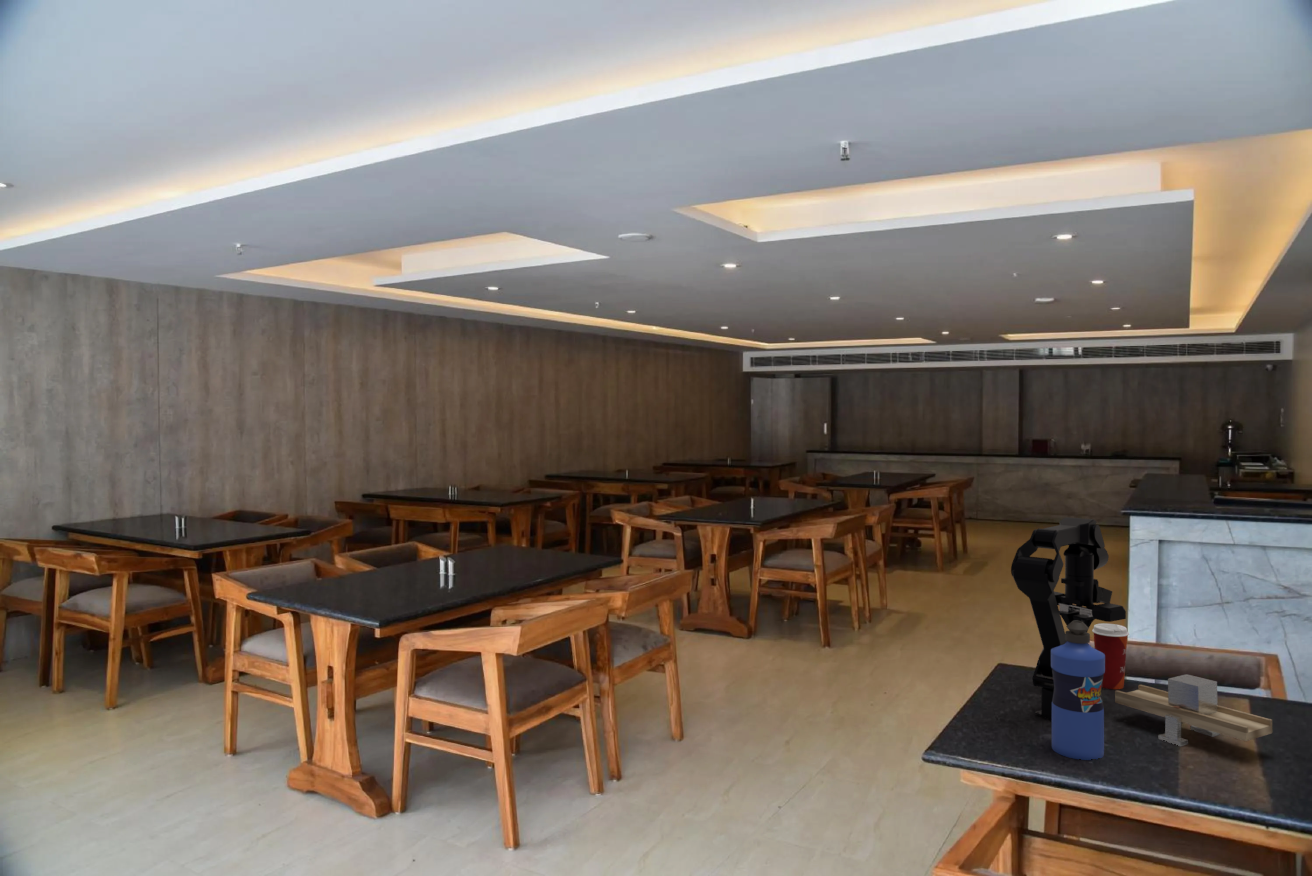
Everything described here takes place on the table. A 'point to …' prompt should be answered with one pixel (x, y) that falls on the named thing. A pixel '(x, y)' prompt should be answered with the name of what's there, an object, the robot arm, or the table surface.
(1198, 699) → the metal block
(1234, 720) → the oak beam
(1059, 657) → the water bottle
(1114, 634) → the paper cup
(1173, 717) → the pivot stand
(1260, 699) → the table surface
